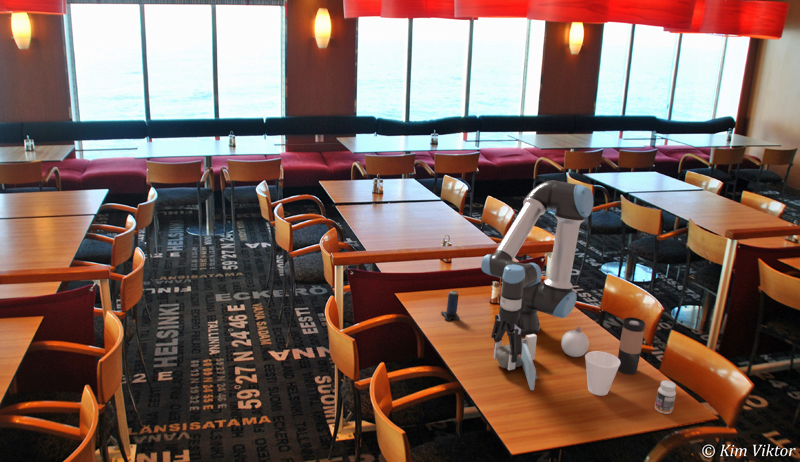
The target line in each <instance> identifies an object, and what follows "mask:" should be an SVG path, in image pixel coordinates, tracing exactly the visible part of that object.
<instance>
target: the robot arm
mask: <svg viewBox="0 0 800 462" xmlns="http://www.w3.org/2000/svg"><path fill="white" fill-rule="evenodd" d="M522 203H523V206H522V208H521V210H519V213H518V214H517V216H516V217H515V219H514V221H513V222H512V224H511V226H510V227H509V229H508V230H507V232H506V233H505V235H504V237H503V239H502V240H501V242H500V243H499V245H498V246H497V248H496V249H495V251H494V252H493V254H492V253H491V254H490V253H488V254H486V255H484V257H483V258H481V259H482V260H481V263H480V268H481V271H482V272H483V273H485V274H486V275H489V276H493V277H495V278H499V279H502V283H501V292H500V301H499V305H500V306H499V310H498V311H499V312H498V314H496V315H495V314H494V315H495V316H494V324H493V328H492V331H491V336H490V337H491V339H493V342H494V346H493V359H494V360H497V357H496V351H497V349H499V348H500V347H502V346H503V338H504V335H505V333H506V336H508V343H509V345H510V349H511V353H509V361H508V368H507V370H508V371H512V370H516V367H515V363H516V361H517V355H519V356H520V355H521V354H522V339H523V338H522V337H523V336H526V335H531V334H535V335H536V334H538V333H539V332H540V328H541V324H540V319H539V314H538V312H541V313H544V314H546V315H549V316H552V317H554V318H555V317H556V318H560V319H564V318H565V319H566V318H567V317H568V316H569V315H571V312H572V311H573V310H574V307H575V305H576V302H577V298H578V297H577V293H576V292H575V291H573V288H574V286H573V284H572V283H571V278H572V277H571V276H572V271H573V264H574V260H575V255H576V249H577V244H578V243H577V242H578V238H579V230H580V226H581V224H582V223H583V222H585V220H586V218H588V217H589V216H590V215H591V214H592V211H593V208H594V195H593V191H592V189H590V187H588V186H585V185H581V184H577V183H571V182H565V181H559V180H553V179H552V180H547V181H544V182H542V183H540V184H537V186H535V187H534V188H533V189H531V190H530V192H529V193H528V194H527V195H526V196H525V198H524V199H523V202H522ZM547 210H552V211H555V213H554V217H555V218H556V219H557V225H556V229H555V236H554V240H553V241H554V242H553V249H552V255H551V259H550V267H549V271H548V277H547V278H546V279H544V280H543V282H542V269H541V267H540V266H539V265H538V263H537V264H536V263H535V262H529V263H521V262H518V261H514V259H515V257H516V256H517V254H518V253H519V251H520V250H521V248H522V246H523V244H524V243H525V241H526V239H527V238H528V236H529V234H530V233H531V231H532V229H533V228H534V226H535V224H536V223H537V222H538V219H539V218H540V216H542V215H545V213H546V211H547Z"/></svg>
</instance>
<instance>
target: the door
mask: <svg viewBox="0 0 800 462" xmlns="http://www.w3.org/2000/svg"><path fill="white" fill-rule="evenodd" d="M519 357H520V358H521V359H522V361H523V364H522V365H521V366H522V369H523V372H524V374H525V377H526V380H527V385H528V386H529V390H530V391H535V385H536V380H538V379H539V376H538V375H537V370H536V367H535V364H534V361H533V360H532V358H531V355H530V353H529V350H528V347H527V344H526V339H525V338H522V354H521V355H519Z"/></svg>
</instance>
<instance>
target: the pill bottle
mask: <svg viewBox="0 0 800 462" xmlns="http://www.w3.org/2000/svg"><path fill="white" fill-rule="evenodd" d="M676 388H677V384H676V383H675V382H673V381H670V380H667V379H666V380H661V381H660V386H659V387H658V388H657V393H656V399H655V403H654V408H655V410H656V411H657V412H659V413H661V414H665V415H666V414H667V415H669V414H671V413H673V411H674V406H675V400H676V395H677V391H676Z"/></svg>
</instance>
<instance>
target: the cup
mask: <svg viewBox="0 0 800 462" xmlns="http://www.w3.org/2000/svg"><path fill="white" fill-rule="evenodd" d="M584 358H585V359H584V360H585V368H586V379H587V382H586V383H587V389H588V392H589V393H590V394H593V395H595V396H602V397H603V396H606V395H608V394H609V391H610V389H611V387H612V384H613V381H614V379H615V377H616V375H617V373H618V368H619V365H620V363H621V362H620V360H619V359H618V356H616V355H614V354H612V353H610V352H607V351H602V350H601V351H596V350H593V351H589V352H586V353H585V354H584Z"/></svg>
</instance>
